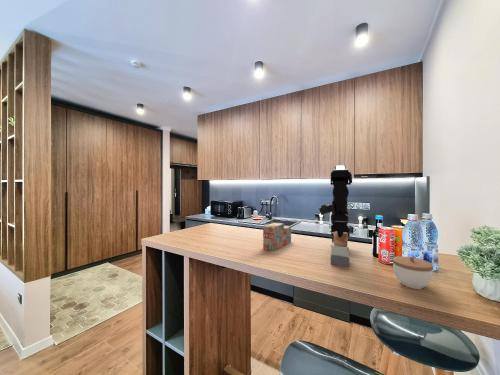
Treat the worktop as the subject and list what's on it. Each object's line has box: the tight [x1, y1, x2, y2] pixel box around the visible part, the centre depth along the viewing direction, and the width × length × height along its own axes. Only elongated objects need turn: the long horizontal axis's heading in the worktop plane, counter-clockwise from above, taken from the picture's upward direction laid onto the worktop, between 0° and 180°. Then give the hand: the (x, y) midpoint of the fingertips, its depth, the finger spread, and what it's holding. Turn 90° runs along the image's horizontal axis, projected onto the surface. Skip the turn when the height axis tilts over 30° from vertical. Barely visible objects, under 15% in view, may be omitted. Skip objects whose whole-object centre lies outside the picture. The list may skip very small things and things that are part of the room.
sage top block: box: [331, 241, 348, 257], centre depth 90 cm, size 6×6×4 cm
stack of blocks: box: [262, 222, 292, 252], centre depth 116 cm, size 21×6×12 cm, turn 145°
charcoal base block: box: [330, 251, 350, 268], centre depth 90 cm, size 7×7×4 cm
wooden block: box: [333, 231, 349, 247], centre depth 90 cm, size 6×6×5 cm
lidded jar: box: [392, 255, 434, 290], centre depth 70 cm, size 11×11×9 cm
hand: (340, 235), depth 90 cm, fingers open, 9 cm apart
